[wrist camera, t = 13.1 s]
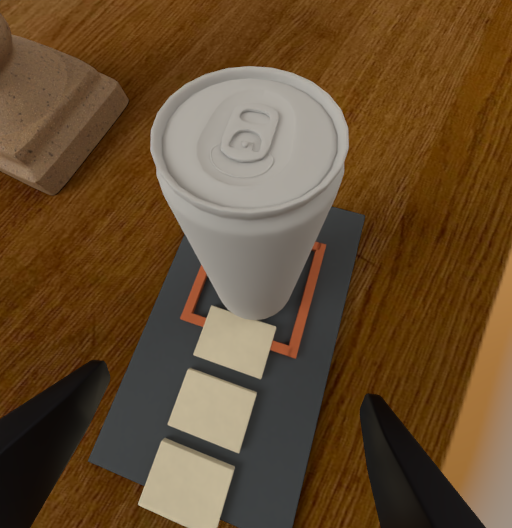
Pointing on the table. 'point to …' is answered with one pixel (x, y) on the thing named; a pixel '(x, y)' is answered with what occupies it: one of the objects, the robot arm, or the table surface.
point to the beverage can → (250, 178)
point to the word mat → (229, 392)
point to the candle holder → (50, 111)
